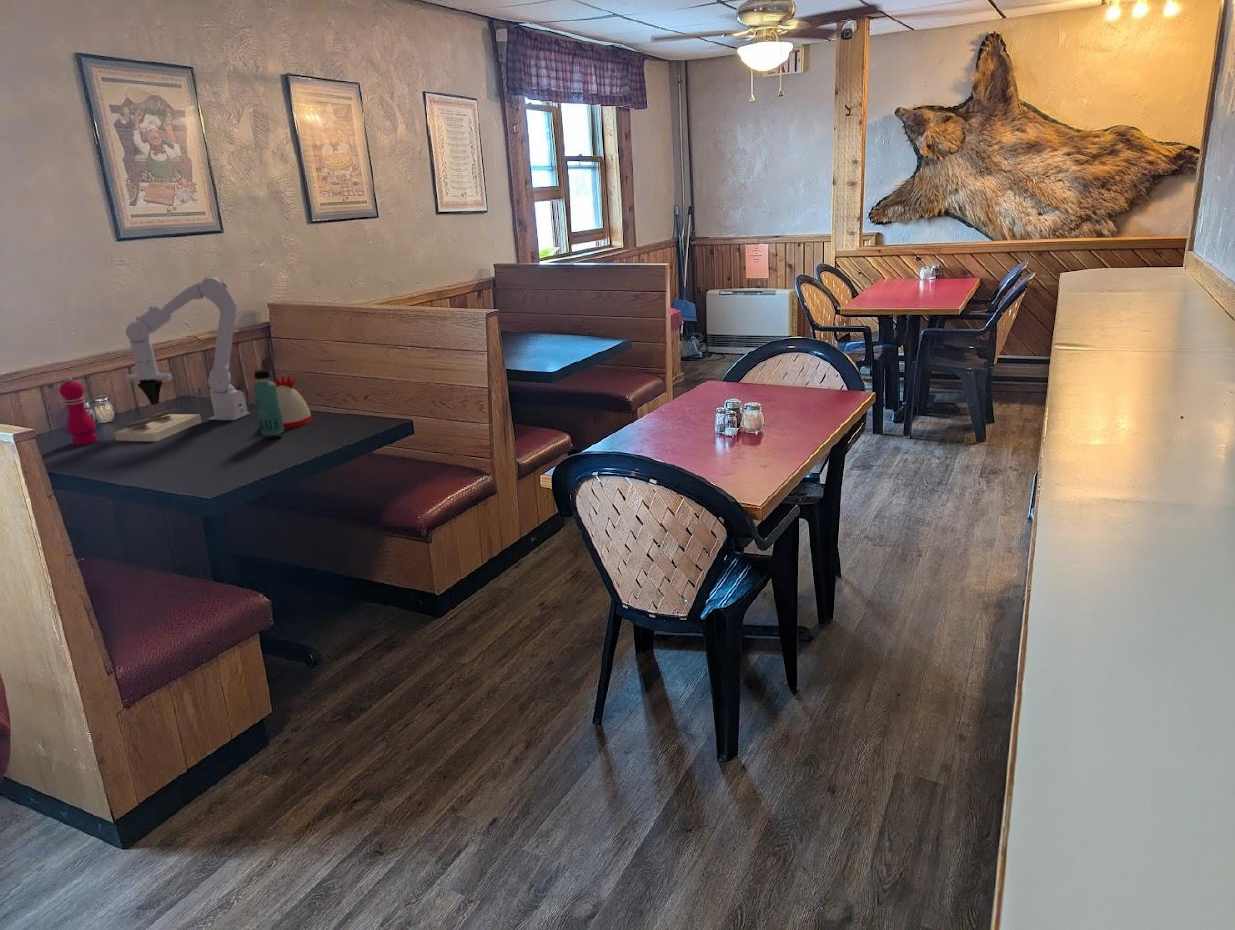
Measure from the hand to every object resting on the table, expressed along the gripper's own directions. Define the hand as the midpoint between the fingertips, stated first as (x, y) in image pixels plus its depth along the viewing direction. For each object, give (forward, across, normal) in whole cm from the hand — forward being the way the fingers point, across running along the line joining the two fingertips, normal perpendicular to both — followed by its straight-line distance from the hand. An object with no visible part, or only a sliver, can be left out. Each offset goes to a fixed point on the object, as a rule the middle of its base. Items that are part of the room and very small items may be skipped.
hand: (155, 403), depth 265 cm
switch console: (+7, -4, +5) cm, 10 cm away
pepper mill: (+7, +13, +16) cm, 22 cm away
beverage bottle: (+8, -45, +12) cm, 48 cm away
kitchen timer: (+8, -41, -3) cm, 42 cm away
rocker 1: (+3, -2, +10) cm, 11 cm away
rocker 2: (+3, -2, 0) cm, 4 cm away
